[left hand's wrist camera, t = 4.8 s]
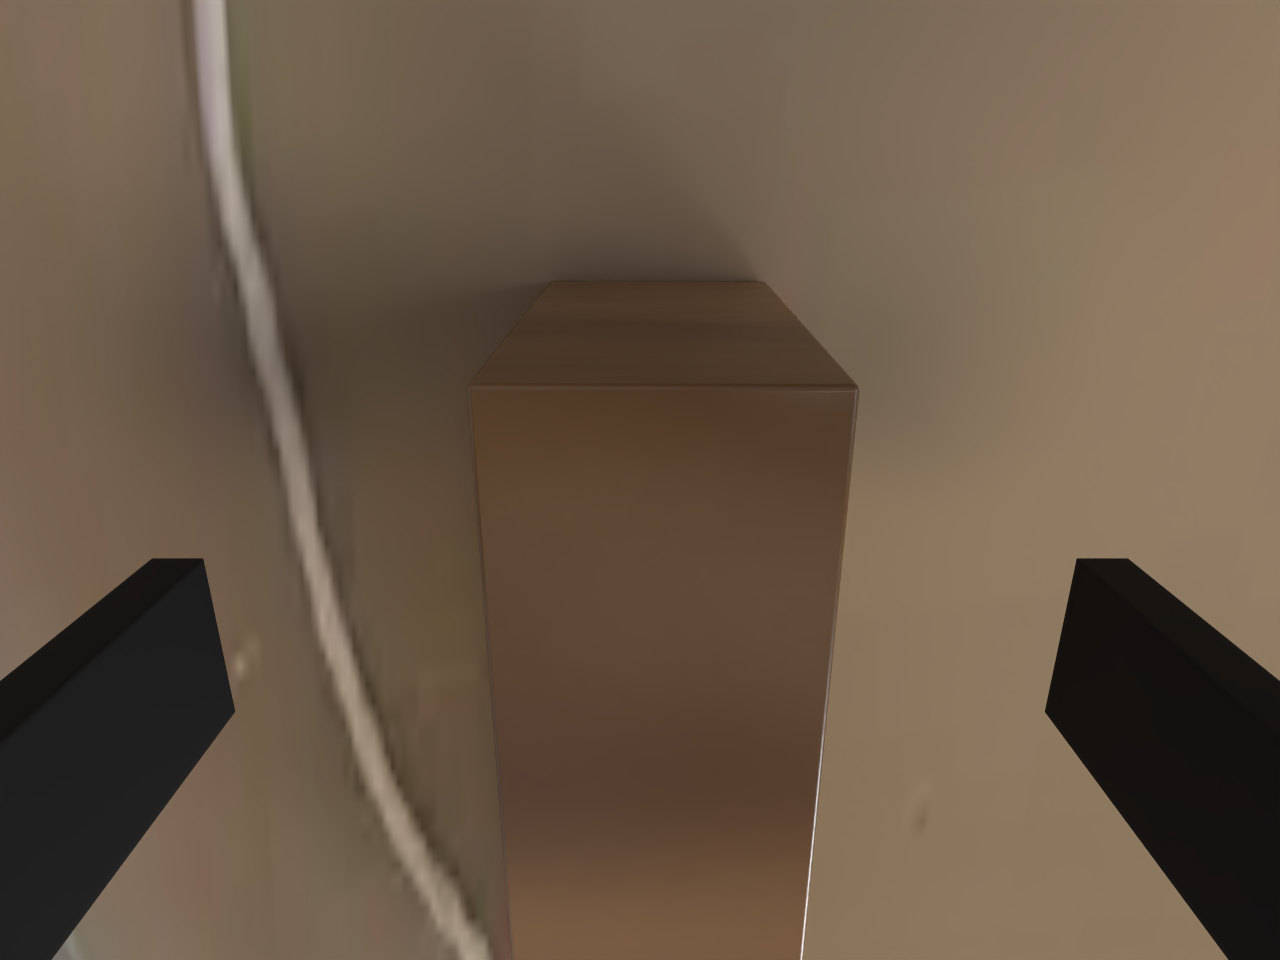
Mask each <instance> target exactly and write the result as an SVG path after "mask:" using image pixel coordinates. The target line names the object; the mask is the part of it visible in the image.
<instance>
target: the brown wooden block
mask: <svg viewBox="0 0 1280 960" xmlns="http://www.w3.org/2000/svg"><path fill="white" fill-rule="evenodd" d="M467 396H468V409H469V421H470V434H471V447H472V460H473V472H474V485H475V498H476V510H477V523H478V536H479V549H480V561H481V574H482V587H483V600H484V612H485V625H486V638H487V650H488V663H489V676H490V689H491V701H492V714H493V727H494V740H495V752H496V765H497V778H498V790H499V803H500V816H501V829H502V841H503V854H504V867H505V880H506V892H507V905H508V918H509V931H510V943H511V956H512V960H803V951H804V941H805V931H806V920H807V910H808V900H809V890H810V880H811V870H812V860H813V850H814V840H815V830H816V820H817V810H818V800H819V790H820V780H821V770H822V760H823V750H824V739H825V729H826V719H827V709H828V699H829V689H830V679H831V669H832V659H833V649H834V639H835V629H836V619H837V609H838V599H839V589H840V579H841V569H842V559H843V548H844V538H845V528H846V518H847V508H848V498H849V488H850V478H851V468H852V458H853V448H854V438H855V428H856V418H857V408H858V398H859V388H858V385H857V384H856V383H855V382H854V381H853V380H852V379H851V378H850V377H849V375H848V374H847V373H846V372H845V371H844V370H843V369H842V368H841V367H840V365H839V364H838V363H837V362H836V361H835V360H834V359H833V358H832V356H831V355H830V354H829V353H828V352H827V351H826V350H825V349H824V348H823V346H822V345H821V344H820V343H819V342H818V341H817V340H816V339H815V337H814V336H813V335H812V334H811V333H810V332H809V331H808V330H807V329H806V327H805V326H804V325H803V324H802V323H801V322H800V321H799V320H798V318H797V317H796V316H795V315H794V314H793V313H792V312H791V311H790V310H789V308H788V307H787V306H786V305H785V304H784V303H783V302H782V301H781V299H780V298H779V297H778V296H777V295H776V294H775V293H774V292H773V291H772V289H771V288H770V287H769V286H768V285H767V284H766V283H765V282H559V281H553V282H551V283H550V284H549V285H548V286H547V287H546V289H545V290H544V291H543V292H542V294H541V295H540V296H539V297H538V299H537V300H536V301H535V302H534V304H533V305H532V306H531V307H530V309H529V310H528V311H527V312H526V314H525V315H524V316H523V317H522V318H521V320H520V321H519V322H518V323H517V325H516V326H515V327H514V328H513V330H512V331H511V332H510V333H509V335H508V336H507V337H506V338H505V340H504V341H503V342H502V343H501V345H500V346H499V347H498V348H497V350H496V351H495V352H494V353H493V355H492V356H491V357H490V358H489V360H488V361H487V362H486V363H485V365H484V366H483V367H482V368H481V370H480V371H479V372H478V373H477V374H476V376H475V377H474V378H473V379H472V381H471V382H470V383H469V384H468V387H467Z"/></svg>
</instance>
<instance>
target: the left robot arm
mask: <svg viewBox="0 0 1280 960" xmlns="http://www.w3.org/2000/svg"><path fill="white" fill-rule="evenodd" d="M234 713H235V709H234V704H233V699H232V694H231V690H230V685H229V680H228V675H227V670H226V666H225V661H224V656H223V651H222V646H221V642H220V637H219V632H218V627H217V622H216V618H215V613H214V608H213V603H212V598H211V594H210V589H209V584H208V579H207V574H206V570H205V565H204V560H203V559H151V560H150V561H148V562H147V563H146V564H145V565H144V566H142V567H141V568H140V569H139V570H137V571H136V572H135V573H134V574H132V575H131V576H130V577H129V578H127V579H126V580H125V581H124V582H122V583H121V584H120V585H119V586H117V587H116V588H115V589H114V590H113V591H111V592H110V593H109V594H108V595H106V596H105V597H104V598H103V599H101V600H100V601H99V602H98V603H96V604H95V605H94V606H93V607H91V608H90V609H89V610H88V611H86V612H85V613H84V614H83V615H82V616H80V617H79V618H78V619H77V620H75V621H74V622H73V623H72V624H70V625H69V626H68V627H67V628H65V629H64V630H63V631H62V632H60V633H59V634H58V635H57V636H55V637H54V638H53V639H52V640H51V641H49V642H48V643H47V644H46V645H44V646H43V647H42V648H41V649H39V650H38V651H37V652H36V653H34V654H33V655H32V656H31V657H29V658H28V659H27V660H26V661H25V662H23V663H22V664H21V665H20V666H18V667H17V668H16V669H15V670H13V671H12V672H11V673H10V674H8V675H7V676H6V677H5V678H3V679H2V680H1V681H0V960H52V958H53V957H54V956H55V954H56V953H57V952H58V950H59V949H60V948H61V946H62V945H63V943H64V942H65V941H66V939H67V938H68V937H69V935H70V934H71V933H72V931H73V930H74V929H75V927H76V926H77V925H78V923H79V922H80V921H81V919H82V918H83V916H84V915H85V914H86V912H87V911H88V910H89V908H90V907H91V906H92V904H93V903H94V902H95V900H96V899H97V898H98V896H99V895H100V894H101V892H102V891H103V889H104V888H105V887H106V885H107V884H108V883H109V881H110V880H111V879H112V877H113V876H114V875H115V873H116V872H117V871H118V869H119V868H120V867H121V865H122V864H123V862H124V861H125V860H126V858H127V857H128V856H129V854H130V853H131V852H132V850H133V849H134V848H135V846H136V845H137V844H138V842H139V841H140V839H141V838H142V837H143V835H144V834H145V833H146V831H147V830H148V829H149V827H150V826H151V825H152V823H153V822H154V821H155V819H156V818H157V817H158V815H159V814H160V812H161V811H162V810H163V808H164V807H165V806H166V804H167V803H168V802H169V800H170V799H171V798H172V796H173V795H174V794H175V792H176V791H177V790H178V788H179V787H180V785H181V784H182V783H183V781H184V780H185V779H186V777H187V776H188V775H189V773H190V772H191V771H192V769H193V768H194V767H195V765H196V764H197V763H198V761H199V760H200V758H201V757H202V756H203V754H204V753H205V752H206V750H207V749H208V748H209V746H210V745H211V744H212V742H213V741H214V740H215V738H216V737H217V736H218V734H219V733H220V731H221V730H222V729H223V727H224V726H225V725H226V723H227V722H228V721H229V719H230V718H231V717H232V715H233V714H234ZM1045 713H1046V714H1047V715H1048V717H1049V718H1050V719H1051V721H1052V722H1053V723H1054V725H1055V726H1056V727H1057V729H1058V730H1059V731H1060V733H1061V734H1062V736H1063V737H1064V738H1065V740H1066V741H1067V742H1068V744H1069V745H1070V746H1071V748H1072V749H1073V750H1074V752H1075V753H1076V754H1077V756H1078V757H1079V758H1080V760H1081V761H1082V763H1083V764H1084V765H1085V767H1086V768H1087V769H1088V771H1089V772H1090V773H1091V775H1092V776H1093V777H1094V779H1095V780H1096V781H1097V783H1098V784H1099V785H1100V787H1101V788H1102V790H1103V791H1104V792H1105V794H1106V795H1107V796H1108V798H1109V799H1110V800H1111V802H1112V803H1113V804H1114V806H1115V807H1116V808H1117V810H1118V811H1119V812H1120V814H1121V815H1122V817H1123V818H1124V819H1125V821H1126V822H1127V823H1128V825H1129V826H1130V827H1131V829H1132V830H1133V831H1134V833H1135V834H1136V835H1137V837H1138V838H1139V840H1140V841H1141V842H1142V844H1143V845H1144V846H1145V848H1146V849H1147V850H1148V852H1149V853H1150V854H1151V856H1152V857H1153V858H1154V860H1155V861H1156V862H1157V864H1158V865H1159V867H1160V868H1161V869H1162V871H1163V872H1164V873H1165V875H1166V876H1167V877H1168V879H1169V880H1170V881H1171V883H1172V884H1173V885H1174V887H1175V888H1176V889H1177V891H1178V892H1179V894H1180V895H1181V896H1182V898H1183V899H1184V900H1185V902H1186V903H1187V904H1188V906H1189V907H1190V908H1191V910H1192V911H1193V912H1194V914H1195V915H1196V916H1197V918H1198V919H1199V921H1200V922H1201V923H1202V925H1203V926H1204V927H1205V929H1206V930H1207V931H1208V933H1209V934H1210V935H1211V937H1212V938H1213V939H1214V941H1215V942H1216V943H1217V945H1218V946H1219V948H1220V949H1221V950H1222V952H1223V953H1224V954H1225V956H1226V957H1227V958H1228V960H1280V681H1279V680H1278V679H1277V678H1275V677H1274V676H1273V675H1272V674H1270V673H1269V672H1268V671H1267V670H1265V669H1264V668H1263V667H1262V666H1260V665H1259V664H1258V663H1257V662H1255V661H1254V660H1253V659H1252V658H1251V657H1249V656H1248V655H1247V654H1246V653H1244V652H1243V651H1242V650H1241V649H1239V648H1238V647H1237V646H1236V645H1234V644H1233V643H1232V642H1231V641H1229V640H1228V639H1227V638H1226V637H1224V636H1223V635H1222V634H1221V633H1220V632H1218V631H1217V630H1216V629H1215V628H1213V627H1212V626H1211V625H1210V624H1208V623H1207V622H1206V621H1205V620H1203V619H1202V618H1201V617H1200V616H1198V615H1197V614H1196V613H1195V612H1194V611H1192V610H1191V609H1190V608H1189V607H1187V606H1186V605H1185V604H1184V603H1182V602H1181V601H1180V600H1179V599H1177V598H1176V597H1175V596H1174V595H1172V594H1171V593H1170V592H1169V591H1167V590H1166V589H1165V588H1164V587H1163V586H1161V585H1160V584H1159V583H1158V582H1156V581H1155V580H1154V579H1153V578H1151V577H1150V576H1149V575H1148V574H1146V573H1145V572H1144V571H1143V570H1141V569H1140V568H1139V567H1138V566H1136V565H1135V564H1134V563H1133V562H1132V561H1130V560H1129V559H1077V560H1076V565H1075V570H1074V574H1073V579H1072V584H1071V589H1070V594H1069V598H1068V603H1067V608H1066V613H1065V618H1064V622H1063V627H1062V632H1061V637H1060V642H1059V646H1058V651H1057V656H1056V661H1055V666H1054V670H1053V675H1052V680H1051V685H1050V690H1049V694H1048V699H1047V704H1046V709H1045Z"/></svg>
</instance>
